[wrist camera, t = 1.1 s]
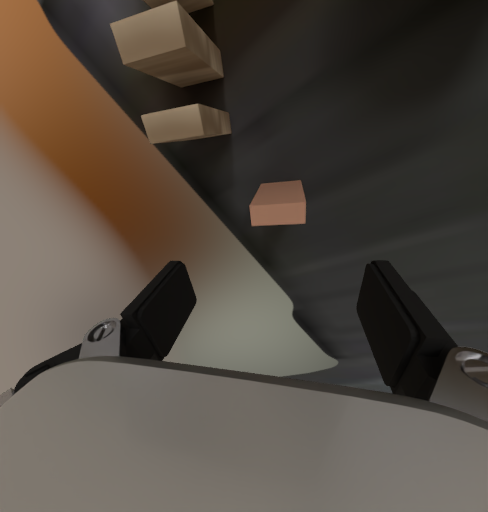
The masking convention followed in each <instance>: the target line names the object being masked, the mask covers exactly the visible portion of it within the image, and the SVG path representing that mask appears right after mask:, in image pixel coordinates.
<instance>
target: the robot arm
mask: <svg viewBox="0 0 488 512" xmlns="http://www.w3.org/2000/svg"><path fill="white" fill-rule="evenodd" d="M195 304H196V296H195V293H194V290H193V287H192V284H191V281H190V278H189V275H188V272H187V270H186V267H185V265H184V264H183V263H182V262H181V261H170V262H169V263H168V264H167V265H166V266H165V267H164V268H163V269H162V270H161V271H160V272H159V273H158V274H157V275H156V276H155V278H154V279H153V280H152V281H151V282H150V283H149V284H148V285H147V286H146V287H145V288H144V289H143V290H142V291H141V292H140V294H139V295H138V296H137V297H136V298H135V299H134V300H133V301H132V302H131V303H130V304H129V305H128V306H127V307H126V308H125V309H124V311H123V312H122V313H121V316H122V318H123V319H122V320H121V321H120V320H119V319H117V318H109V319H106V320H103V321H101V322H99V323H97V324H96V325H95V326H93V327H92V328H91V329H90V330H89V331H88V332H87V333H86V334H85V336H84V339H83V342H82V343H81V344H79V345H77V346H75V347H73V348H71V349H69V350H67V351H64V352H62V353H60V354H58V355H56V356H54V357H52V358H50V359H48V360H46V361H44V362H42V363H40V364H38V365H36V366H34V367H33V368H31V369H30V370H29V371H28V372H27V373H26V374H25V375H24V376H23V377H22V378H21V379H20V380H19V382H18V383H17V385H16V387H15V390H14V389H12V388H10V389H9V390H7V391H6V392H4V393H2V394H1V395H0V512H488V353H486V352H483V351H481V350H478V349H474V348H470V347H458V346H457V344H456V343H455V342H454V341H453V339H452V338H451V337H450V336H449V334H448V333H447V332H446V331H445V329H444V328H443V327H442V326H441V324H440V323H439V322H438V321H437V319H436V318H435V317H434V316H433V314H432V313H431V312H430V311H429V309H428V308H427V307H426V306H425V304H424V303H423V302H422V301H421V299H420V298H419V297H418V296H417V294H416V293H415V292H414V291H412V290H411V289H410V288H409V287H408V285H407V284H406V283H405V282H404V280H403V279H402V278H401V276H400V275H399V274H398V273H397V271H396V270H395V269H394V268H393V266H392V265H391V264H390V263H389V261H372V262H371V264H367V265H366V268H365V273H364V277H363V281H362V285H361V290H360V294H359V298H358V302H357V313H358V316H359V318H360V321H361V324H362V326H363V329H364V332H365V334H366V337H367V339H368V342H369V345H370V347H371V350H372V352H373V355H374V358H375V360H376V363H377V365H378V368H379V371H380V373H381V376H382V378H383V381H384V383H385V384H386V385H387V386H390V387H391V390H392V392H393V394H391V393H385V392H379V391H372V390H366V389H360V388H353V387H347V386H341V385H333V384H326V383H319V382H312V381H305V380H298V379H291V378H284V377H277V376H270V375H262V374H255V373H248V372H240V371H233V370H225V369H218V368H211V367H203V366H196V365H188V364H180V363H173V362H165V361H162V360H163V359H164V357H166V356H167V355H168V353H169V352H170V350H171V348H172V346H173V344H174V342H175V341H176V339H177V337H178V335H179V334H180V332H181V330H182V328H183V326H184V324H185V323H186V321H187V319H188V317H189V315H190V313H191V312H192V310H193V308H194V306H195Z"/></svg>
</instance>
